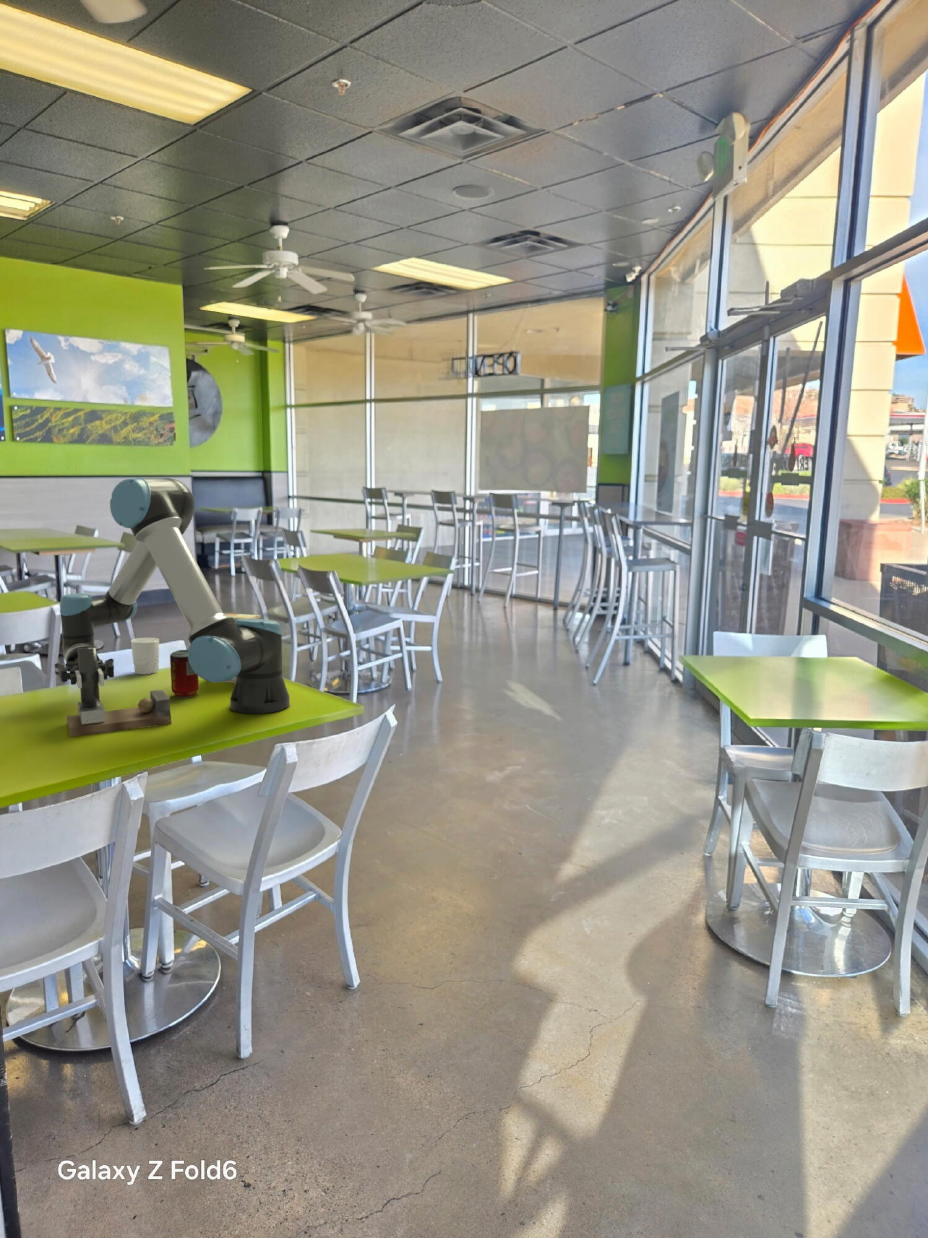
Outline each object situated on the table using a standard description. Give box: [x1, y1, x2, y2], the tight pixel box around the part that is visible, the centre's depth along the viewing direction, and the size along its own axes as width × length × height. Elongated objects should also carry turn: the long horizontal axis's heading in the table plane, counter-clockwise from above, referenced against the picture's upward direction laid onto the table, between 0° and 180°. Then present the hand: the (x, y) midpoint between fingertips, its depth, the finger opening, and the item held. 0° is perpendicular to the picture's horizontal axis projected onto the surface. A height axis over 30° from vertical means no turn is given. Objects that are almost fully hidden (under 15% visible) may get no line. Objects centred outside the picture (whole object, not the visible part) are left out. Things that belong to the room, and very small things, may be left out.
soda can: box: [169, 649, 200, 699], centre depth 218 cm, size 7×7×12 cm
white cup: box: [130, 637, 160, 675], centre depth 243 cm, size 8×8×10 cm
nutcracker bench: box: [66, 689, 172, 738], centre depth 192 cm, size 22×11×6 cm, turn 120°
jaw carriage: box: [77, 645, 105, 724], centre depth 188 cm, size 5×9×17 cm, turn 30°
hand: (91, 681), depth 183 cm, fingers closed on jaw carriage, 4 cm apart
